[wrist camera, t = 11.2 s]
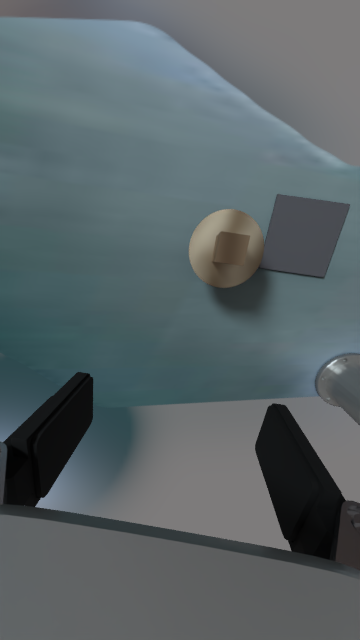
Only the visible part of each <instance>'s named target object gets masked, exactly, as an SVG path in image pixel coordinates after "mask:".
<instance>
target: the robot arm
mask: <svg viewBox="0 0 360 640" xmlns="http://www.w3.org/2000/svg"><path fill="white" fill-rule="evenodd" d="M315 387H316V391H317V393H318V394H319V396H320V397H321V398H322V399H323V400H324V401H325V402H327V403H329V404H331V405H334V406H339V407H342V408H343V409H344V410H345V411H346V412H347V413H348V414H349V415H350V416H351V417H352V418H353V419H354V420H355V421H356V422H357V423H358V424H359V425H360V354H356V353H349V354H343V355H340V356H337V357H335V358H333V359H331V360H330V361H328V362H327V363H326V364H325V365H324V366H323V367H322V368H321V369H320V370H319V372H318V374H317V376H316V380H315ZM92 419H93V377H90V374H88V373H82V372H78V373H76V374H75V375H74V376H73V377H72V378H71V379H70V380H69V381H68V382H67V383H66V384H65V385H64V386H63V387H62V388H61V389H60V390H59V391H58V392H57V393H56V394H55V395H54V396H51V397H50V398H49V399H48V400H47V401H46V402H45V403H44V404H43V405H42V406H41V407H39V408H38V409H37V410H36V411H35V412H34V413H33V414H32V415H31V416H30V417H29V418H28V419H27V420H26V421H25V422H24V423H23V424H22V425H21V426H20V427H19V428H18V429H17V430H16V431H15V432H13V433H12V434H11V435H10V436H9V437H8V438H7V439H6V440H5V441H4V442H0V640H360V503H357V502H354V501H346V500H345V499H344V497H343V496H342V494H341V491H340V490H339V488H338V487H337V485H336V483H335V482H334V480H333V479H332V477H331V475H330V474H329V472H328V471H327V469H326V468H325V466H324V465H323V463H322V461H321V460H320V459H319V457H318V455H317V453H316V452H315V450H314V449H313V447H312V446H311V444H310V443H309V441H308V439H307V438H306V436H305V435H304V433H303V432H302V430H301V428H300V427H299V425H298V424H297V422H296V421H295V419H294V418H293V416H292V414H291V413H290V411H289V410H288V408H287V407H286V406H285V405H281V404H272V405H271V406H269V407H268V409H267V412H266V415H265V418H264V421H263V424H262V427H261V430H260V432H259V436H258V438H257V441H256V445H255V450H256V454H257V457H258V460H259V464H260V466H261V470H262V473H263V476H264V479H265V482H266V485H267V488H268V491H269V494H270V497H271V500H272V503H273V506H274V509H275V512H276V515H277V518H278V522H279V524H280V528H281V531H282V534H283V536H284V538H285V539H286V540H288V542H289V544H290V547H291V550H292V552H291V551H287V550H281V549H276V548H272V547H266V546H260V545H255V544H250V543H244V542H238V541H233V540H227V539H221V538H216V537H211V536H205V535H199V534H194V533H188V532H182V531H176V530H171V529H165V528H160V527H153V526H148V525H142V524H136V523H130V522H125V521H119V520H113V519H107V518H101V517H95V516H89V515H83V514H77V513H71V512H65V511H58V510H51V509H44V508H37V507H35V506H36V504H37V503H38V501H39V500H40V498H41V497H42V498H44V497H45V496H46V495H47V494H48V492H49V490H50V489H51V487H52V485H53V484H54V482H55V481H56V479H57V478H58V476H59V474H60V473H61V471H62V470H63V468H64V466H65V465H66V463H67V462H68V460H69V458H70V457H71V455H72V454H73V452H74V450H75V449H76V447H77V445H78V444H79V442H80V441H81V439H82V437H83V436H84V434H85V432H86V431H87V429H88V428H89V426H90V424H91V422H92Z"/></svg>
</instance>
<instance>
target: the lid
mask: <svg viewBox="0 0 360 640" xmlns="http://www.w3.org/2000/svg"><path fill="white" fill-rule="evenodd" d="M263 253H264V239H263V235H262V232H261V229H260V227H259V226H258V224H257V223H256V221H255V220H254V219H253V218H252V217H250V216H249V215H247V214H246V213H244V212H241V211H238V210H233V209H225V210H220V211H217V212H214V213H212V214H210V215H209V216H207V217H206V218H204V219H203V220H202V221H201V222H200V223H199V225H198V226H197V227H196V229H195V230H194V232H193V235H192V237H191V240H190V245H189V258H190V262H191V265H192V268H193V270H194V271H195V273H196V274H197V276H198V277H199V278H200V279H201V280H203V281H204V282H205V283H207V284H209V285H211V286H214V287H219V288H229V287H234V286H237V285H239V284H241V283H243V282H245V281H246V280H247V279H249V278H250V277H251V276H252V275H253V274H254V273H255V271H256V270H257V268H258V267H259V265H260V263H261V260H262V257H263Z"/></svg>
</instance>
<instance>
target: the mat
mask: <svg viewBox="0 0 360 640" xmlns="http://www.w3.org/2000/svg"><path fill="white" fill-rule="evenodd" d="M349 206H350V204H344V203H337V202H330V201H323V200H316V199H308V198H301V197H294V196H287V195H280V194H278V195H277V197H276V201H275V205H274V209H273V213H272V217H271V221H270V225H269V229H268V232H267V236H266V240H265V244H264V253H263V257H262V260H261V263H260V265H259V268H264V269H271V270H277V271H284V272H291V273H298V274H304V275H311V276H318V277H324V276H325V273H326V271H327V268H328V265H329V262H330V259H331V257H332V254H333V251H334V248H335V245H336V243H337V240H338V237H339V234H340V231H341V229H342V226H343V223H344V220H345V217H346V215H347V212H348V209H349Z"/></svg>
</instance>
